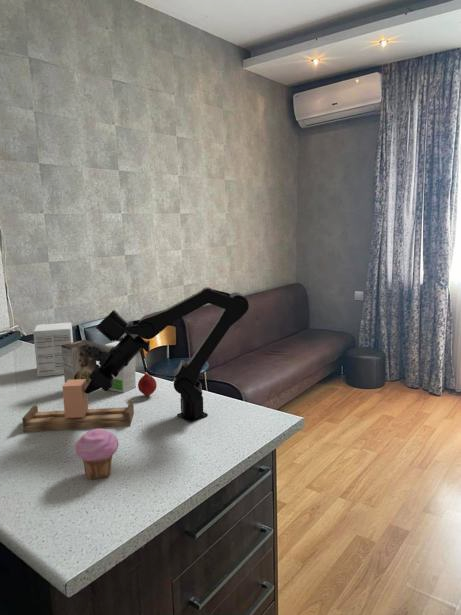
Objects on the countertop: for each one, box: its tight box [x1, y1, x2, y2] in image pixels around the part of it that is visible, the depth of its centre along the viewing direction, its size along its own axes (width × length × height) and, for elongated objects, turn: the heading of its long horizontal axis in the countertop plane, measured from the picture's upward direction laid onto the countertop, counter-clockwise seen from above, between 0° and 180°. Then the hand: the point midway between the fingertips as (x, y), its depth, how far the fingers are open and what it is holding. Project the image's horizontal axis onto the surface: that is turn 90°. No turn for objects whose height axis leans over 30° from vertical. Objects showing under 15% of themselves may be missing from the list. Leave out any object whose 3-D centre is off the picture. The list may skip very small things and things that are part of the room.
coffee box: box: [61, 339, 97, 386], centre depth 152 cm, size 9×6×16 cm
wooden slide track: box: [21, 400, 135, 433], centre depth 126 cm, size 28×9×4 cm, turn 95°
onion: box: [137, 372, 158, 397], centre depth 144 cm, size 6×6×8 cm
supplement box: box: [32, 322, 74, 378], centre depth 174 cm, size 13×13×18 cm
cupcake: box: [75, 428, 119, 480], centre depth 98 cm, size 9×9×10 cm
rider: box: [62, 379, 89, 418], centre depth 125 cm, size 5×6×10 cm
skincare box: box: [103, 340, 137, 394], centre depth 152 cm, size 8×7×16 cm
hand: (85, 392), depth 125 cm, fingers closed
